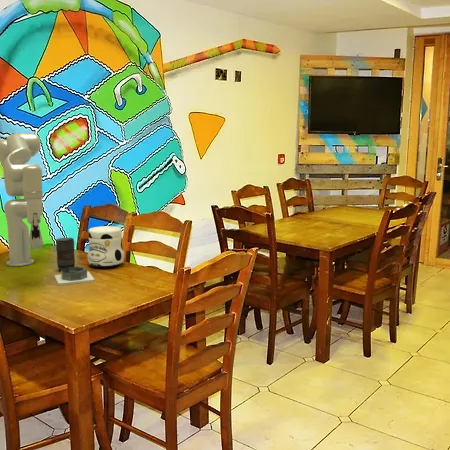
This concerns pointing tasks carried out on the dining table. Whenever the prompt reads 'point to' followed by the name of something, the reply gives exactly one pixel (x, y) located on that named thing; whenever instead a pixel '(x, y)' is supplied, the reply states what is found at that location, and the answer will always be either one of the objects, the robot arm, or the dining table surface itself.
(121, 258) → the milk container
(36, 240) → the salt shaker
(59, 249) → the camera lens
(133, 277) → the dining table surface
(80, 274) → the holder ring
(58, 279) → the holder board
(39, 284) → the dining table surface
